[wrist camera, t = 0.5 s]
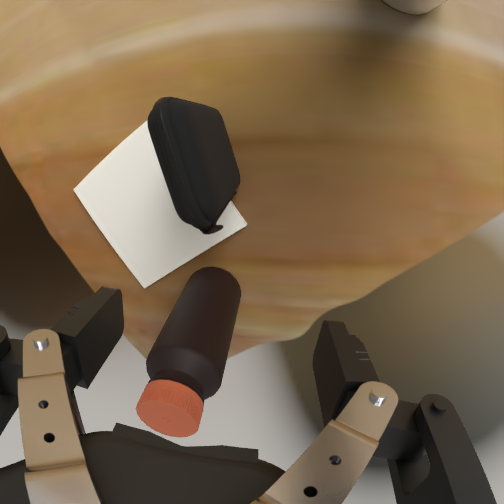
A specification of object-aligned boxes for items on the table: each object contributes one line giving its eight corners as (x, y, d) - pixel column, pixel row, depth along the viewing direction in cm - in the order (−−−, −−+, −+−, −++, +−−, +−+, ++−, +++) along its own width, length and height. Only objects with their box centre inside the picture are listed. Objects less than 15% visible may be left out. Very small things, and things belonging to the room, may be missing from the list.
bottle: (190, 310, 40) (136, 434, 21) (186, 263, 37) (114, 383, 19) (241, 314, 39) (214, 449, 21) (241, 267, 36) (206, 399, 18)
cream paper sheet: (166, 106, 30) (164, 106, 29) (247, 223, 34) (246, 225, 34) (75, 188, 34) (73, 189, 34) (146, 286, 39) (144, 288, 38)
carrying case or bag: (249, 196, 33) (226, 247, 20) (223, 203, 34) (184, 258, 20) (220, 102, 29) (174, 86, 16) (193, 112, 30) (131, 105, 16)
